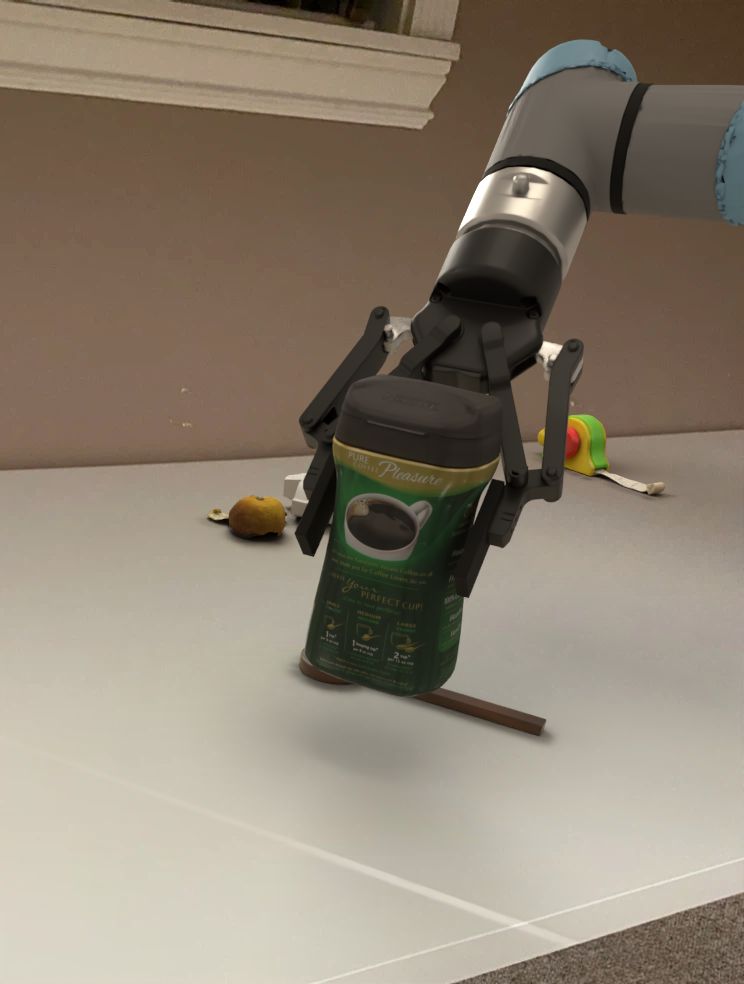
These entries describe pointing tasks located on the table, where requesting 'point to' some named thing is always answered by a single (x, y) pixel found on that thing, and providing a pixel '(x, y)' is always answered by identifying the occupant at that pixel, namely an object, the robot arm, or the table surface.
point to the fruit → (254, 516)
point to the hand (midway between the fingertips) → (380, 565)
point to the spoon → (453, 703)
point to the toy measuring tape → (593, 452)
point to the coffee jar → (401, 531)
